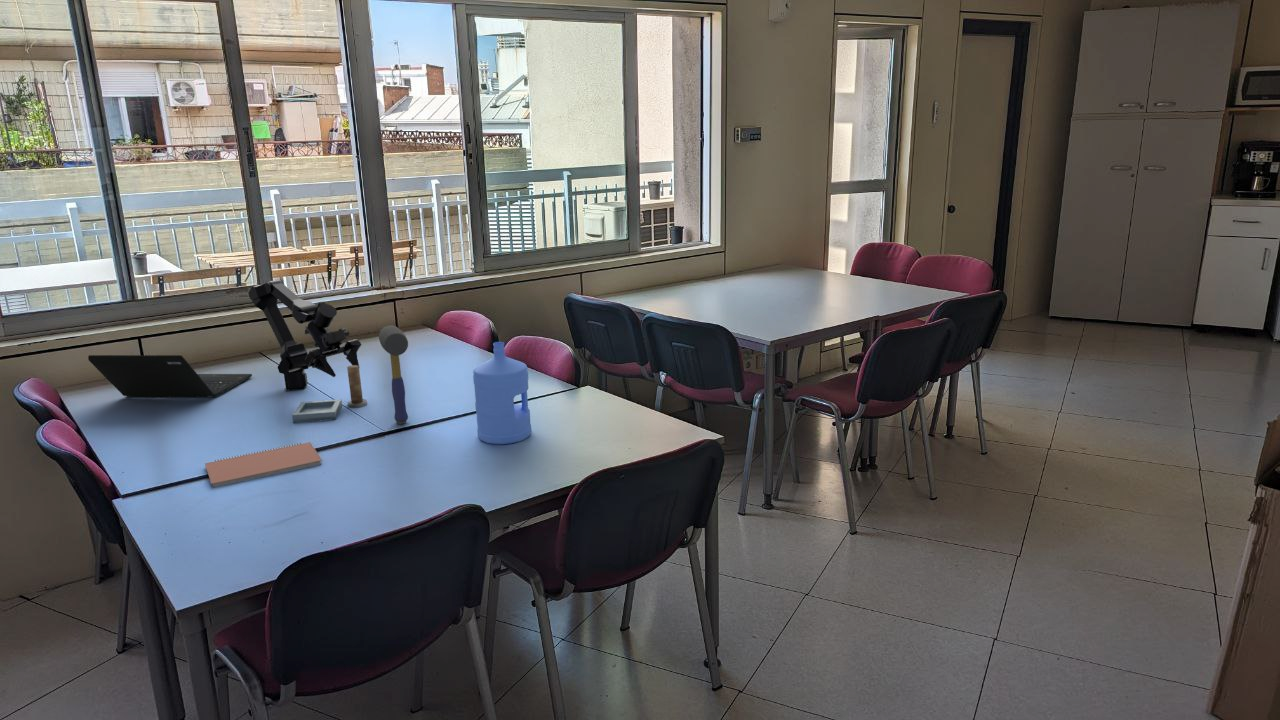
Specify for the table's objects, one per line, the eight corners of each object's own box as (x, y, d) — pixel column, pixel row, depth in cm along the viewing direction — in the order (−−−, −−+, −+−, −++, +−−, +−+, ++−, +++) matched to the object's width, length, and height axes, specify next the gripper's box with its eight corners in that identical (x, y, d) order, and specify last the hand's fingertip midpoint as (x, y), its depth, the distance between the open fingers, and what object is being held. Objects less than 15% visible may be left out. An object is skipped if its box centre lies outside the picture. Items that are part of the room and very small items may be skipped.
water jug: (480, 448, 237) (473, 352, 229) (475, 429, 252) (468, 339, 244) (535, 441, 241) (530, 347, 233) (527, 423, 256) (522, 334, 248)
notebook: (310, 446, 242) (309, 440, 241) (322, 465, 228) (321, 459, 228) (205, 467, 228) (204, 461, 228) (212, 489, 215) (211, 482, 214)
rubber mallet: (386, 418, 262) (375, 325, 254) (410, 414, 265) (401, 322, 257) (392, 431, 251) (382, 334, 243) (418, 427, 254) (408, 331, 246)
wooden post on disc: (346, 408, 272) (341, 370, 269) (349, 402, 278) (344, 364, 274) (365, 407, 273) (361, 368, 270) (368, 401, 279) (363, 363, 275)
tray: (293, 422, 260) (292, 415, 259) (301, 409, 272) (300, 402, 271) (335, 419, 262) (334, 411, 262) (342, 406, 274) (341, 399, 273)
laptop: (254, 378, 307) (246, 327, 302) (191, 413, 271) (181, 355, 266) (168, 377, 311) (159, 326, 305) (96, 411, 275) (84, 354, 269)
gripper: (305, 327, 266) (330, 365, 263) (354, 315, 280) (379, 351, 277) (293, 347, 272) (318, 385, 269) (342, 335, 287) (367, 371, 284)
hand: (346, 372), depth 275 cm, fingers open, 9 cm apart
